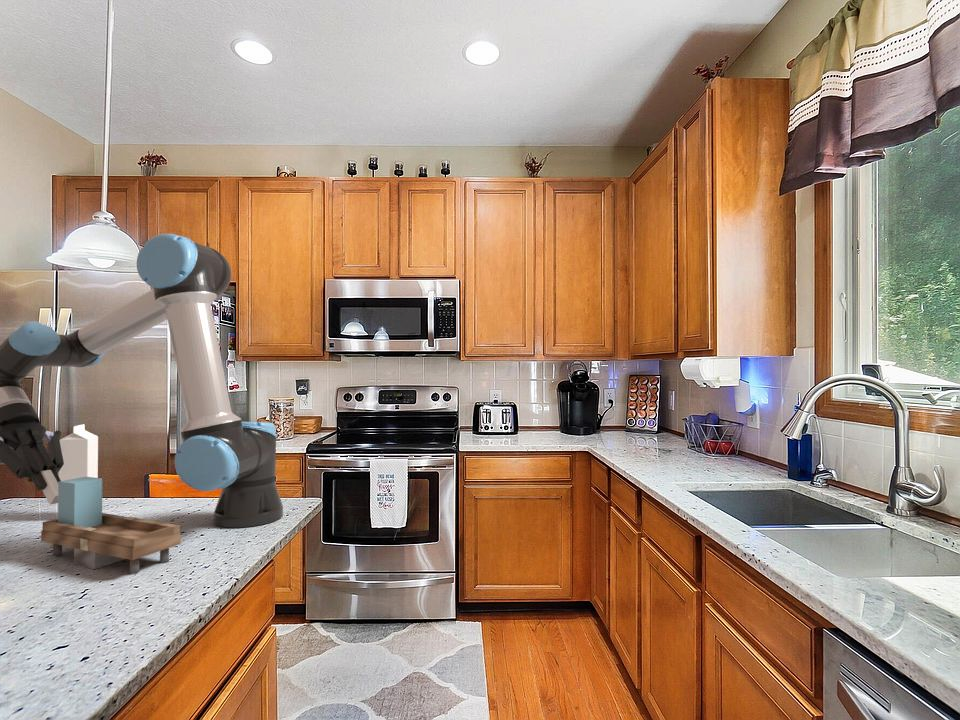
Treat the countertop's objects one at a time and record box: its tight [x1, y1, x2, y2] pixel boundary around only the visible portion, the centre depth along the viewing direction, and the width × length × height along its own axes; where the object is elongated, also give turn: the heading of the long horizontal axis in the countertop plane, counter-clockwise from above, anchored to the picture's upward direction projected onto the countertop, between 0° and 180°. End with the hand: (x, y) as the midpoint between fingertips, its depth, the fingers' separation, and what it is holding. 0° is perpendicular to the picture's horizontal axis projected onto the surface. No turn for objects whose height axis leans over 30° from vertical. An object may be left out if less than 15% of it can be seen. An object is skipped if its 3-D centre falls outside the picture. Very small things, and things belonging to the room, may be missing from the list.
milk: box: [57, 423, 99, 481], centre depth 128 cm, size 6×6×22 cm
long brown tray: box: [40, 512, 182, 575], centre depth 99 cm, size 26×9×7 cm, turn 67°
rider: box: [57, 477, 103, 528], centre depth 103 cm, size 5×5×9 cm
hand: (57, 499), depth 105 cm, fingers closed
